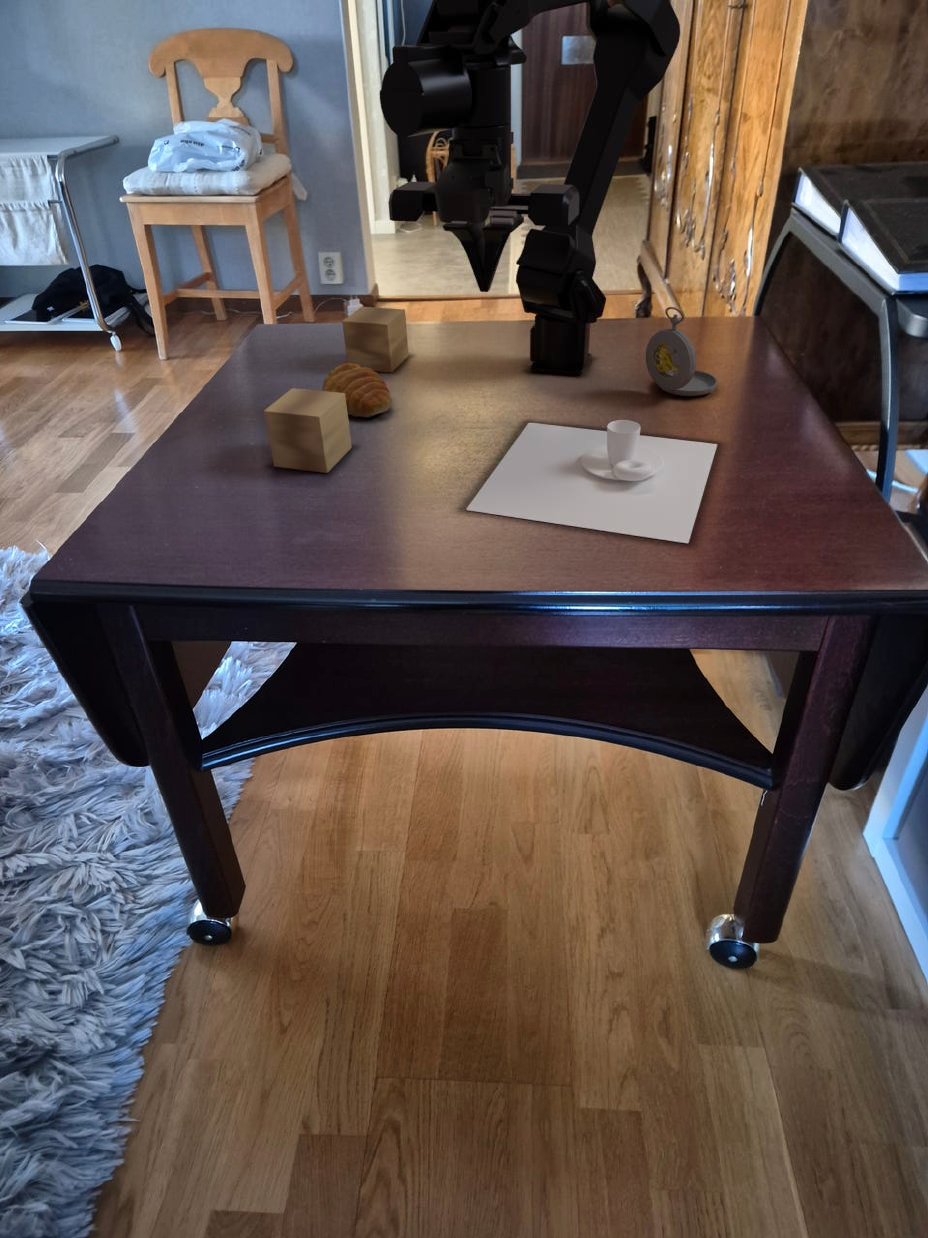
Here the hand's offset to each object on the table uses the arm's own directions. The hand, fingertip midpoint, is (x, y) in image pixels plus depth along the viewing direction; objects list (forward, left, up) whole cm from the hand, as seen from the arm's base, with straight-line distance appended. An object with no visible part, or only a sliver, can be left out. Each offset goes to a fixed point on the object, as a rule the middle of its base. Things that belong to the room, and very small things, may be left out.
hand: (485, 290), depth 91 cm
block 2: (+17, -8, -12) cm, 22 cm away
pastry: (+14, +5, -12) cm, 19 cm away
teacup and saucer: (-16, +16, -12) cm, 26 cm away
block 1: (+13, +19, -12) cm, 26 cm away
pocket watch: (-21, -7, -12) cm, 25 cm away
